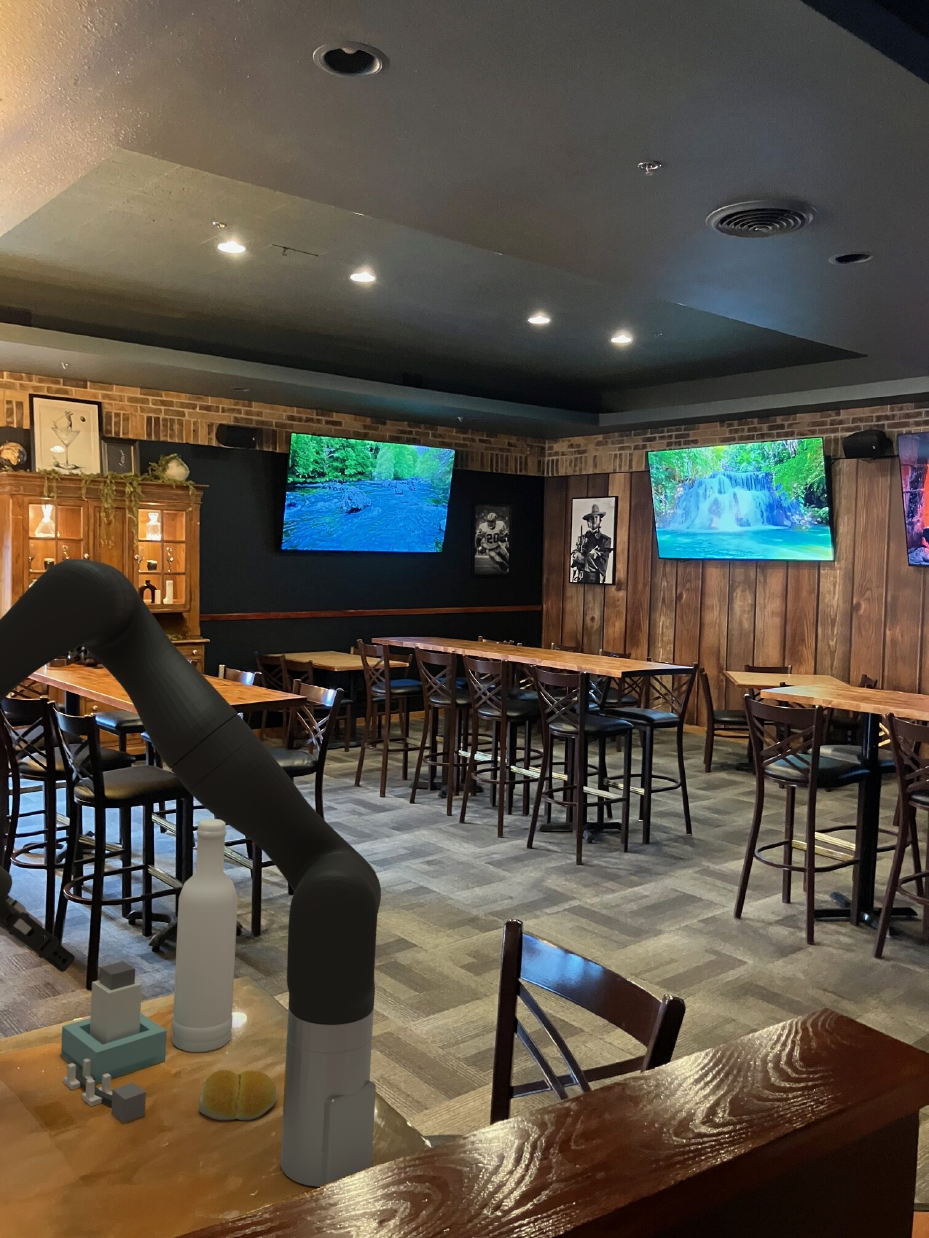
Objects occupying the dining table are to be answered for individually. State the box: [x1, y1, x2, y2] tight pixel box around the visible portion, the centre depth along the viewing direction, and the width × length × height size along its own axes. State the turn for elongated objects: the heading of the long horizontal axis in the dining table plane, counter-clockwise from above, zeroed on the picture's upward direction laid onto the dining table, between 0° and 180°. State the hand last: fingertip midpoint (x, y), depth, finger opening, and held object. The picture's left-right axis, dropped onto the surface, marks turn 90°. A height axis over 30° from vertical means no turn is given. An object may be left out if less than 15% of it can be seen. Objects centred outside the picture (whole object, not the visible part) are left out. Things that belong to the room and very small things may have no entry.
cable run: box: [62, 1058, 147, 1124], centre depth 118 cm, size 14×4×3 cm, turn 47°
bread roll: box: [198, 1069, 277, 1121], centre depth 118 cm, size 8×9×4 cm
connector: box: [90, 960, 143, 1045], centre depth 127 cm, size 4×4×11 cm
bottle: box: [171, 818, 239, 1053], centre depth 133 cm, size 8×8×30 cm
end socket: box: [60, 1012, 168, 1086], centre depth 127 cm, size 10×10×4 cm
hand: (53, 954), depth 121 cm, fingers open, 8 cm apart
